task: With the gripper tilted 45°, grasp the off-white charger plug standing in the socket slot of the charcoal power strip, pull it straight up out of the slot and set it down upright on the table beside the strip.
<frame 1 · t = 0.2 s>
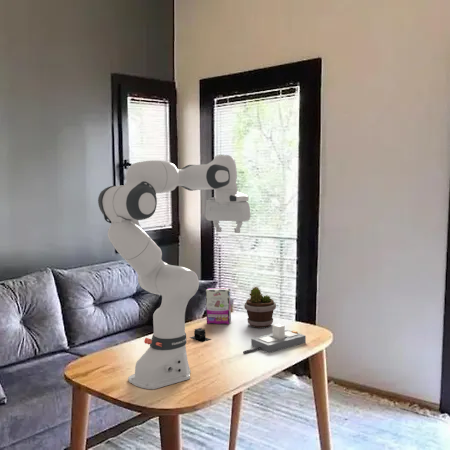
hand: (227, 232, 206), 48 cm above the table, tool pointing down, fingers open, 8 cm apart
flowerpot: (260, 325, 245), on the table
power strip: (278, 344, 217), on the table
candy bar box: (218, 323, 250), on the table
black boxy piece: (200, 340, 227), on the table
charger plug: (278, 344, 217), resting in power strip
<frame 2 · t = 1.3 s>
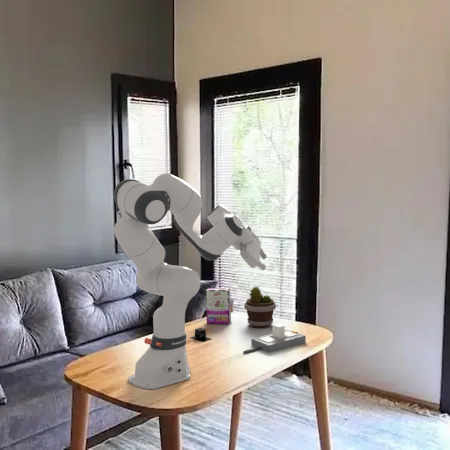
hand: (265, 263, 207), 35 cm above the table, tool tilted 45°, fingers open, 8 cm apart
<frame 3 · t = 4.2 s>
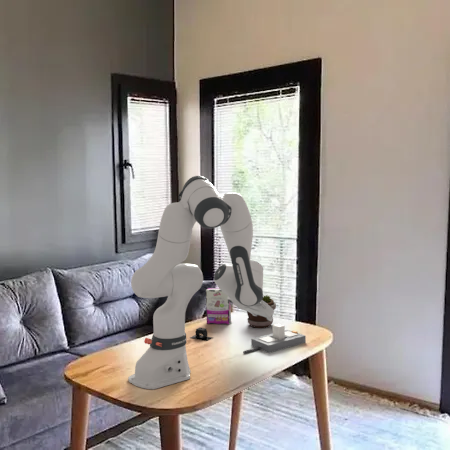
hand: (263, 317, 210), 13 cm above the table, tool tilted 45°, fingers open, 8 cm apart
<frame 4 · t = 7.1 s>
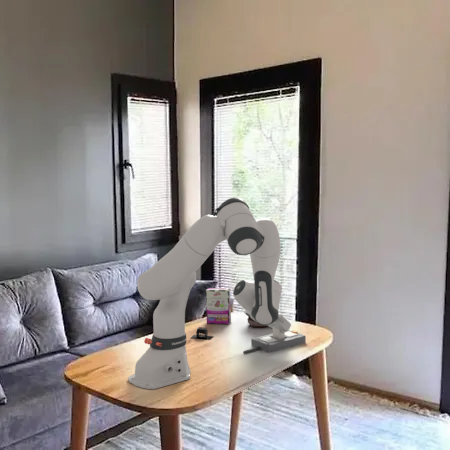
hand: (279, 330, 217), 6 cm above the table, tool tilted 45°, fingers closed on charger plug, 4 cm apart
charger plug: (278, 344, 217), resting in power strip, touching gripper
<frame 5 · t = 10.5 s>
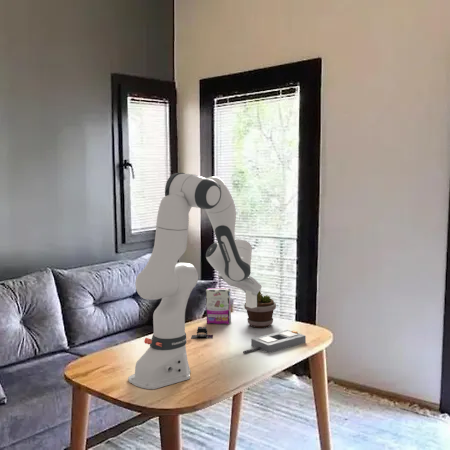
hand: (252, 293, 225), 19 cm above the table, tool tilted 45°, fingers closed on charger plug, 4 cm apart
charger plug: (251, 306, 226), point 14 cm above the table, touching gripper
when the fingers open (7 cm above the table, at t = 14.0 s): charger plug drops 2 cm, on the table.
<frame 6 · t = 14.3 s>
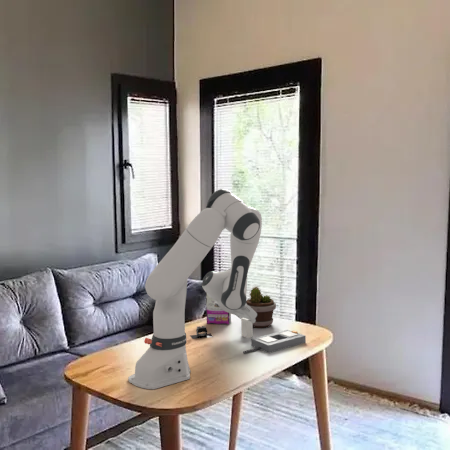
hand: (247, 319, 228), 7 cm above the table, tool tilted 45°, fingers open, 7 cm apart
charger plug: (247, 336, 229), on the table
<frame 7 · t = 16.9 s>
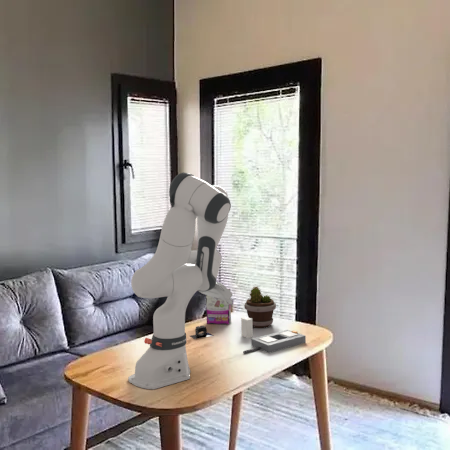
hand: (224, 300, 220), 18 cm above the table, tool tilted 45°, fingers open, 8 cm apart
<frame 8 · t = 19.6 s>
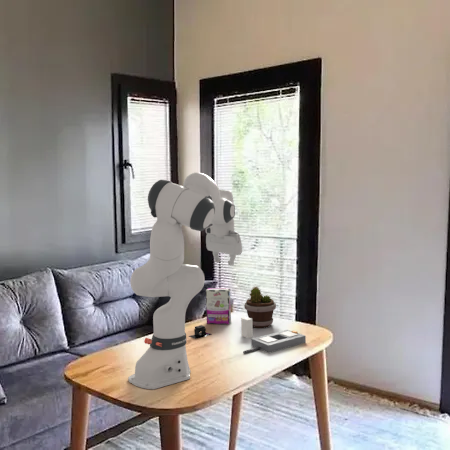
hand: (224, 263, 214), 34 cm above the table, tool pointing down, fingers open, 8 cm apart
at the end: charger plug inside the target area (0.0 cm from its centre), on the table; charger plug tilted 0°; the gripper is holding nothing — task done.
